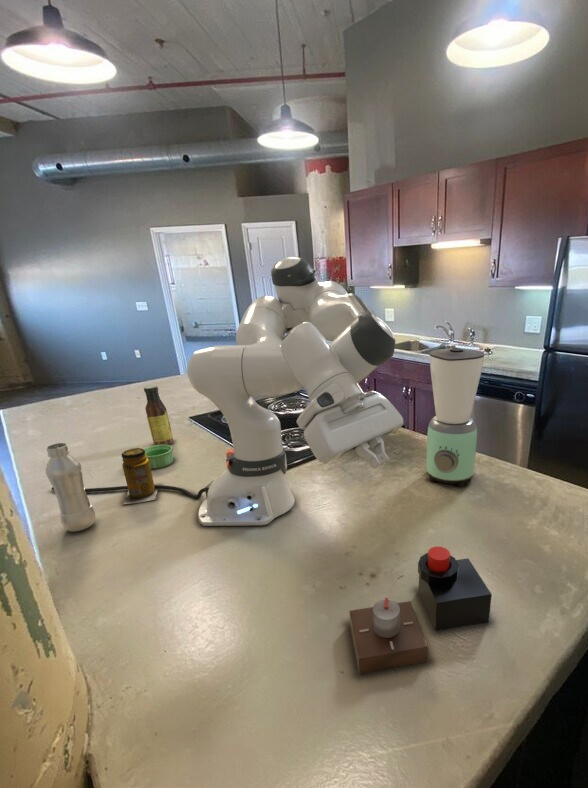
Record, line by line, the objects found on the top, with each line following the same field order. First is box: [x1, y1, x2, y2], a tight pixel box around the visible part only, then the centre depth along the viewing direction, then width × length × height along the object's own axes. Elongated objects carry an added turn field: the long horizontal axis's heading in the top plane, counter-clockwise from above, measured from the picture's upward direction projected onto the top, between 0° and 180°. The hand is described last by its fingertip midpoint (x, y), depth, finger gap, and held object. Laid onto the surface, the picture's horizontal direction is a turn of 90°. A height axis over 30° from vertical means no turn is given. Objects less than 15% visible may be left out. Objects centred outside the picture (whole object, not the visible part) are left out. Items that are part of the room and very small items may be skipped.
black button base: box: [417, 552, 492, 632], centre depth 69 cm, size 10×10×8 cm
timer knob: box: [372, 597, 400, 638], centre depth 62 cm, size 4×4×4 cm
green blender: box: [425, 347, 486, 487], centre depth 110 cm, size 19×13×35 cm
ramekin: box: [143, 444, 174, 470], centre depth 126 cm, size 9×9×4 cm
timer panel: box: [348, 600, 429, 675], centre depth 63 cm, size 10×9×3 cm
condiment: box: [121, 447, 159, 505], centre depth 106 cm, size 7×8×12 cm
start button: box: [427, 546, 451, 573], centre depth 69 cm, size 4×4×2 cm
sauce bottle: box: [143, 385, 174, 446], centre depth 138 cm, size 6×6×20 cm
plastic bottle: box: [45, 442, 97, 532], centre depth 91 cm, size 6×7×20 cm
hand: (382, 464), depth 72 cm, fingers closed
